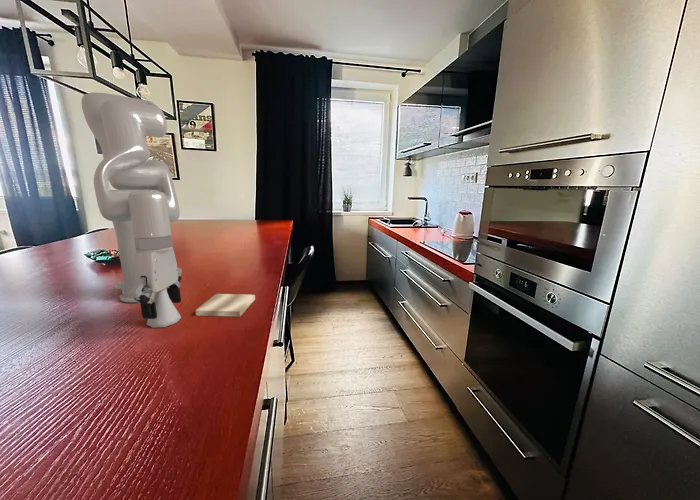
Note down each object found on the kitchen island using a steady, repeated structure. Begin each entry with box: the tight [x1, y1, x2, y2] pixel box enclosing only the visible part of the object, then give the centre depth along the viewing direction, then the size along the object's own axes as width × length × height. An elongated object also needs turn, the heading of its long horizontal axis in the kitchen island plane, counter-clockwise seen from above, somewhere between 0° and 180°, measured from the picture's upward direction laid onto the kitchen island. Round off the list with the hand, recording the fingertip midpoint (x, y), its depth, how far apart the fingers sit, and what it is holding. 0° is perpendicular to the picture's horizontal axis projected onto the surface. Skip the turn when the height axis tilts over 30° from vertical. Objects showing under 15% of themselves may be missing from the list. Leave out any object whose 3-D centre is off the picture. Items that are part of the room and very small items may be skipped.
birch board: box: [195, 293, 256, 318], centre depth 85 cm, size 12×12×2 cm
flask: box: [146, 288, 182, 328], centre depth 74 cm, size 7×7×10 cm
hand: (163, 309), depth 74 cm, fingers open, 9 cm apart
